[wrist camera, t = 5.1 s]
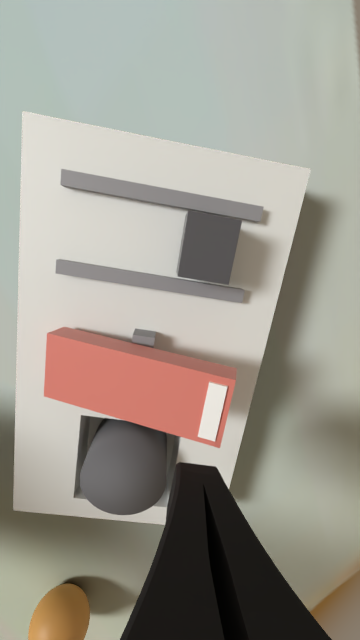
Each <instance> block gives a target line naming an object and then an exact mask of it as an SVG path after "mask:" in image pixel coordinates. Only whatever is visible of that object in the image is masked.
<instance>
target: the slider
mask: <svg viewBox="0 0 360 640" xmlns="http://www.w3.org/2000/svg"><path fill="white" fill-rule="evenodd" d="M241 224H242V220H238V219H233V218H228V217H222V216H217V215H211V214H206V213H200V212H195V211H189V210H188V212H187V214H186V216H185V221H184V227H183V234H182V240H181V246H180V252H179V258H178V264H177V271H176V273H177V276H178V277H183V278H189V279H195V280H201V281H207V282H213V283H220V284H226V285H229V281H230V276H231V271H232V267H233V262H234V257H235V252H236V248H237V243H238V238H239V233H240V229H241Z"/></svg>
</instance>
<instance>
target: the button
mask: <svg viewBox="0 0 360 640" xmlns="http://www.w3.org/2000/svg"><path fill="white" fill-rule="evenodd" d="M166 474H167V435H166V432H163V431H159V430H156V429H153V428H149V427H146V426H142V425H139V424H136V423H132V422H129V421H125V420H117V419H109V418H104V419H103V420H102V421H101V423H100V424H99V426H98V428H97V431H96V433H95V436H94V438H93V441H92V443H91V446H90V448H89V451H88V453H87V456H86V459H85V461H84V464H83V466H82V469H81V472H80V487H81V490H82V492H83V494H84V496H85V497H86V499H87V500H88V501H89V502H90V503H91V504H92V505H93V506H95V507H96V508H98V509H100V510H102V511H104V512H107V513H110V514H115V515H132V514H137V513H140V512H143V511H145V510H147V509H149V508H151V507H152V506H153V505H155V504H156V503H157V502H158V501H159V499H160V498H161V497H162V495H163V493H164V491H165V487H166Z"/></svg>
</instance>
